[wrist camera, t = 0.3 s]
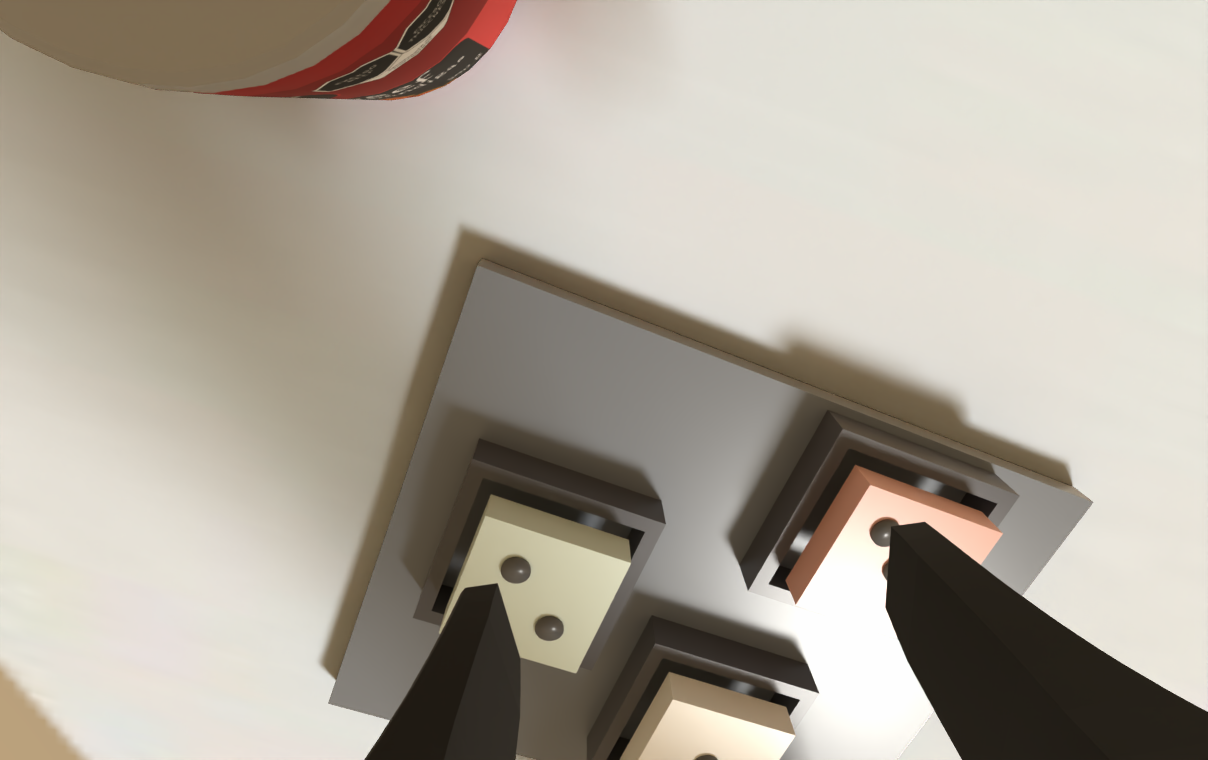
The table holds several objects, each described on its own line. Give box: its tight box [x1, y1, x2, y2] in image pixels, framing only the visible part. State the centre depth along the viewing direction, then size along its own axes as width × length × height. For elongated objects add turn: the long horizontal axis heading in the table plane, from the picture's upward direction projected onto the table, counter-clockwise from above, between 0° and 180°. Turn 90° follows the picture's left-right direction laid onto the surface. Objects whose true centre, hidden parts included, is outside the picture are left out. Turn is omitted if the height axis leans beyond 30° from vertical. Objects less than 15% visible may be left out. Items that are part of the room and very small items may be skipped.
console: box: [328, 258, 1093, 760], centre depth 24 cm, size 18×22×2 cm
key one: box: [620, 672, 796, 760], centre depth 24 cm, size 5×5×1 cm
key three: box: [785, 465, 1003, 638], centre depth 21 cm, size 5×5×1 cm
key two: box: [439, 494, 631, 673], centre depth 22 cm, size 5×5×1 cm
